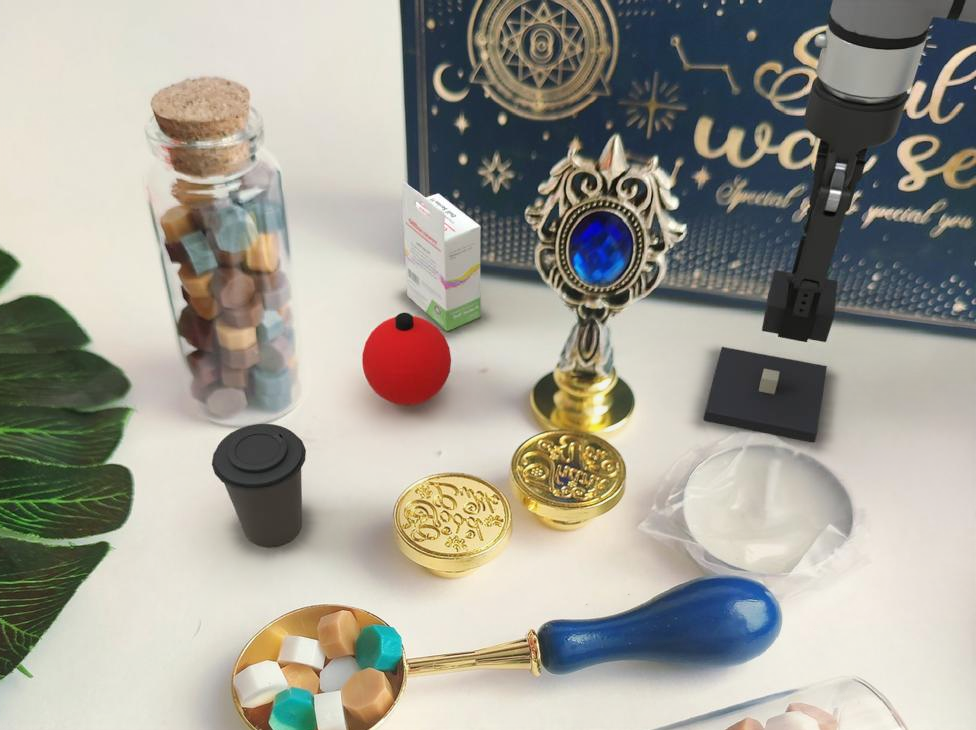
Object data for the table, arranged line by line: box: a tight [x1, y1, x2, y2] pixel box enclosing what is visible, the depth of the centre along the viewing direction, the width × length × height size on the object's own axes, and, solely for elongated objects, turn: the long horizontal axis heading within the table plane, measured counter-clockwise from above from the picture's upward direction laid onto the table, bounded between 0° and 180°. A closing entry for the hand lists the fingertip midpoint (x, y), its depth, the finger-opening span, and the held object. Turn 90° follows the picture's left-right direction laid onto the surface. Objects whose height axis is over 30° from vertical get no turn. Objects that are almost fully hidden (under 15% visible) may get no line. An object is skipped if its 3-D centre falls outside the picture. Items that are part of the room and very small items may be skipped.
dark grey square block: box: [761, 269, 839, 343], centre depth 103 cm, size 6×6×3 cm
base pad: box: [703, 346, 828, 443], centre depth 110 cm, size 11×11×3 cm
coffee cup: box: [211, 423, 307, 548], centre depth 96 cm, size 8×8×10 cm
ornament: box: [361, 312, 452, 406], centre depth 108 cm, size 9×9×10 cm
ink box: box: [401, 181, 482, 332], centre depth 117 cm, size 9×5×15 cm, turn 34°
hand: (796, 316), depth 104 cm, fingers closed on dark grey square block, 6 cm apart
